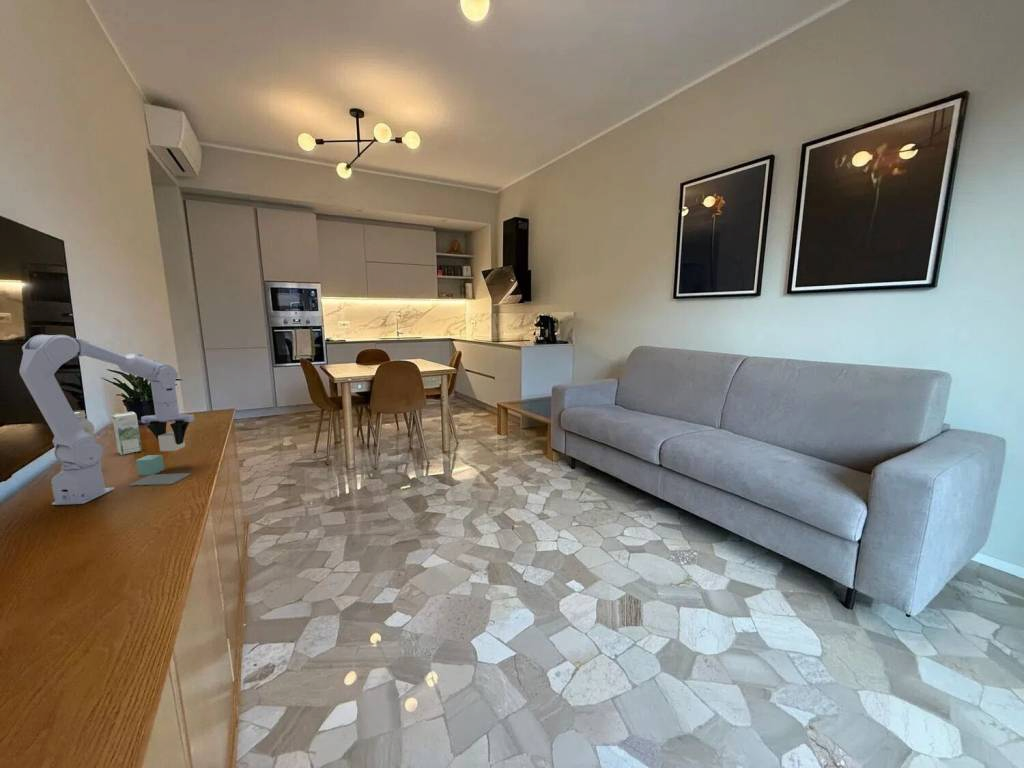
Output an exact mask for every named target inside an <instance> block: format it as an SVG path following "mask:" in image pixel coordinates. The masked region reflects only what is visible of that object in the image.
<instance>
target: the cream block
mask: <svg viewBox="0 0 1024 768" xmlns="http://www.w3.org/2000/svg"><path fill="white" fill-rule="evenodd" d="M158 440H159V442H158V446H159V451H160V452H175V451H178V450H180V449H183V448H184V447H186V442H185V440H184V441H183V443H181V444H176V441H175V435H174V432H173V431H168V432H167V431H166V433H165V434H162V435H159V436H158ZM158 440H157V441H158Z"/></svg>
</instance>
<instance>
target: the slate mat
mask: <svg viewBox="0 0 1024 768" xmlns="http://www.w3.org/2000/svg"><path fill="white" fill-rule="evenodd" d="M187 476H188V477H189V476H192V472H188V473H187V472H185V473H184V472H183V473H162V474H161V473H160V474H159V473H157V474H151V475H146V476H145V477H142V478H140V479H139V480H136V481H134V482H132V483H130V484H128V486H129V487H136V486H135V485H151V486H171V485H170V484H173V485H175V484H177V483H179V482H180V481H182V480H183V478H184V479H186V478H187ZM185 477H186V478H185ZM176 482H177V483H176ZM174 483H175V484H174ZM167 484H169V485H167Z"/></svg>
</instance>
